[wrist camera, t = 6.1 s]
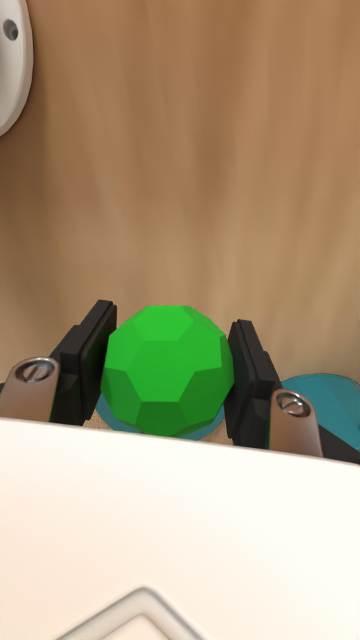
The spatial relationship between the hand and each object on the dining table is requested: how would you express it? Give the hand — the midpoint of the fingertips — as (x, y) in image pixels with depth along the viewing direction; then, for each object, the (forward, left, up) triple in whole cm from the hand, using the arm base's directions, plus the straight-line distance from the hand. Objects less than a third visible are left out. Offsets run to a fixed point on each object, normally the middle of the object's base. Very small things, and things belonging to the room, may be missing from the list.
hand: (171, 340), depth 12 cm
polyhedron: (0, 0, -1) cm, 1 cm away
